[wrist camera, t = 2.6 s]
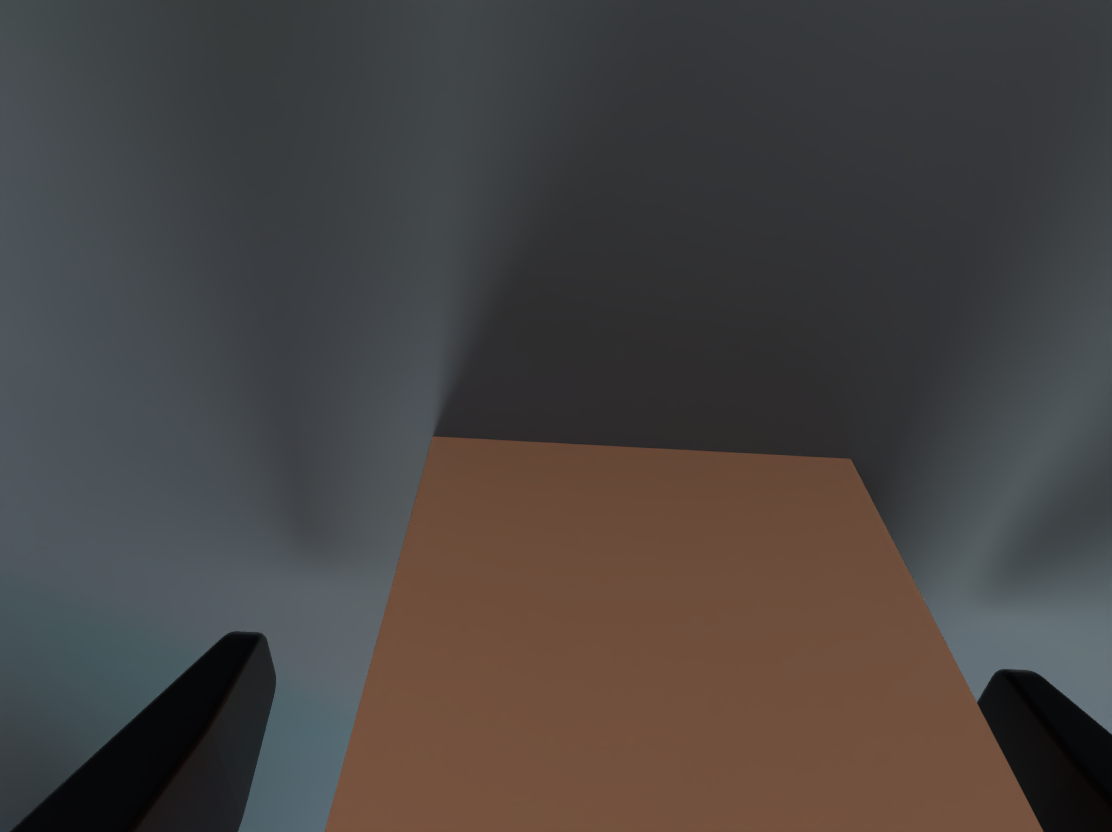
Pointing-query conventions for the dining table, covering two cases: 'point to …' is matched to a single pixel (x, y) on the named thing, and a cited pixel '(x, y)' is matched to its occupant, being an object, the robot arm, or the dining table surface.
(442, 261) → the dining table surface
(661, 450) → the terracotta cube
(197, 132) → the dining table surface
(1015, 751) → the robot arm
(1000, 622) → the dining table surface
